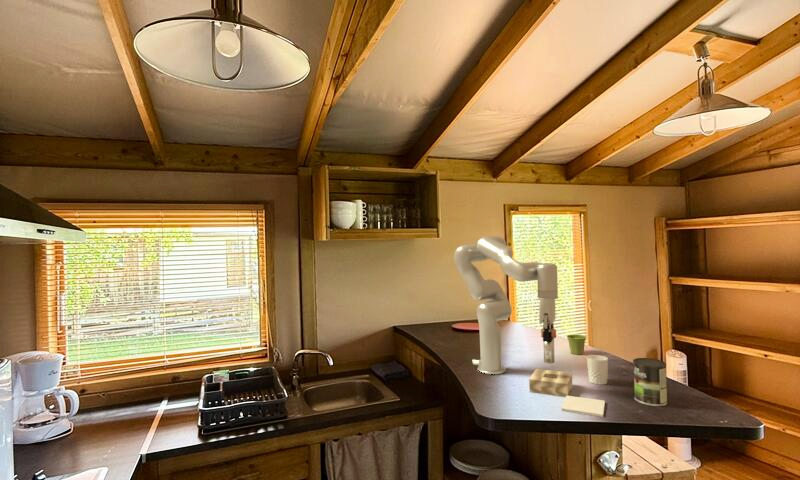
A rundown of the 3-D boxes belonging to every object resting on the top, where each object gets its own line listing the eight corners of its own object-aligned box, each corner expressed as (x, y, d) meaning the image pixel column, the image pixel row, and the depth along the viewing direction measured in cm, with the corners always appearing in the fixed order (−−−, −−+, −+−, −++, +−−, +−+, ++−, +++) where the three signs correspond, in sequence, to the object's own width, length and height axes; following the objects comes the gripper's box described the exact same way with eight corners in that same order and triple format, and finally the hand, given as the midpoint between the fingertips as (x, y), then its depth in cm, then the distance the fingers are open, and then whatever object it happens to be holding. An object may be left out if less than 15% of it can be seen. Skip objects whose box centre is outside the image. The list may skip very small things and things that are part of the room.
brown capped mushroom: (540, 362, 165) (539, 330, 165) (543, 358, 170) (542, 327, 170) (555, 364, 162) (554, 331, 162) (557, 360, 167) (557, 328, 167)
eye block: (529, 391, 163) (529, 379, 163) (536, 380, 175) (536, 368, 175) (567, 397, 156) (567, 383, 156) (572, 385, 168) (571, 372, 168)
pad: (561, 410, 144) (561, 408, 144) (566, 397, 156) (566, 395, 156) (603, 417, 138) (603, 414, 138) (604, 402, 150) (604, 400, 150)
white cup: (611, 385, 166) (610, 360, 166) (590, 384, 168) (589, 360, 168) (605, 378, 174) (604, 355, 174) (585, 378, 176) (584, 354, 176)
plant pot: (567, 355, 210) (566, 338, 210) (567, 350, 219) (566, 334, 219) (587, 356, 207) (586, 339, 207) (586, 351, 215) (586, 334, 215)
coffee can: (646, 407, 145) (645, 366, 145) (628, 396, 155) (626, 358, 155) (674, 405, 145) (673, 365, 145) (654, 394, 156) (652, 356, 156)
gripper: (541, 291, 175) (542, 334, 175) (533, 297, 160) (534, 344, 160) (560, 292, 171) (561, 335, 172) (554, 298, 156) (555, 346, 157)
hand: (548, 339), depth 166 cm, fingers closed on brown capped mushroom, 5 cm apart
